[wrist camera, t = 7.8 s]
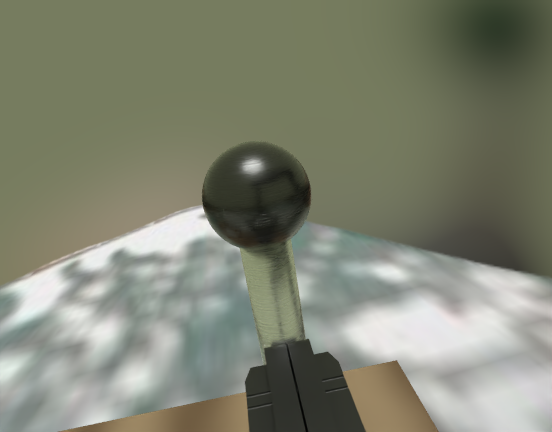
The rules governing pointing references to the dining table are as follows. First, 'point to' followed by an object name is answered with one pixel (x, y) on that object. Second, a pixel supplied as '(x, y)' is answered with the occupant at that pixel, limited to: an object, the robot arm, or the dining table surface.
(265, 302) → the steel toggle lever
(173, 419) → the walnut switch board
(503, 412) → the dining table surface
